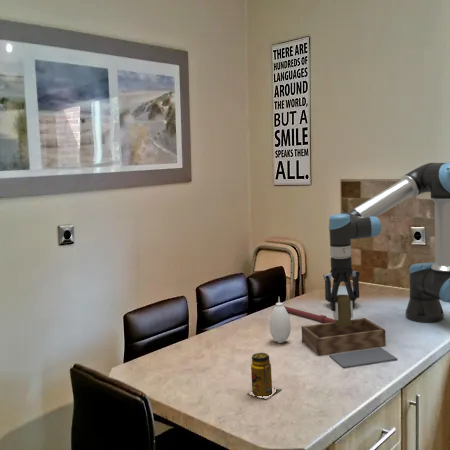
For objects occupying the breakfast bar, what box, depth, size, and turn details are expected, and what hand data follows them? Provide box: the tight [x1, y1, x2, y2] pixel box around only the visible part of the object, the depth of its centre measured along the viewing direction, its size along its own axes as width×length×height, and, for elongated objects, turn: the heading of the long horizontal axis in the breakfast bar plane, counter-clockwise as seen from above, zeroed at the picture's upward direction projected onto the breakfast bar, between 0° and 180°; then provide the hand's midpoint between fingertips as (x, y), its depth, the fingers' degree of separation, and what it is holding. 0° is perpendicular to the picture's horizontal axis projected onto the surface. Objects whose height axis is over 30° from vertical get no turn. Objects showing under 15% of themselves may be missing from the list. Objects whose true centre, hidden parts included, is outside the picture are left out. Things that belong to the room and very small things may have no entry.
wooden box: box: [301, 317, 387, 356], centre depth 201 cm, size 26×15×6 cm, turn 103°
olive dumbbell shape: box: [335, 295, 352, 327], centre depth 199 cm, size 6×6×11 cm
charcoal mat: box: [328, 347, 399, 369], centre depth 186 cm, size 20×11×1 cm, turn 103°
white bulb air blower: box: [269, 297, 292, 344], centre depth 205 cm, size 8×8×18 cm
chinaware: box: [331, 285, 358, 300], centre depth 248 cm, size 15×15×8 cm
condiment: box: [250, 352, 282, 397], centre depth 163 cm, size 7×8×12 cm
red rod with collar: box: [274, 304, 335, 324], centre depth 232 cm, size 45×3×3 cm, turn 39°
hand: (343, 317), depth 200 cm, fingers closed on olive dumbbell shape, 5 cm apart
